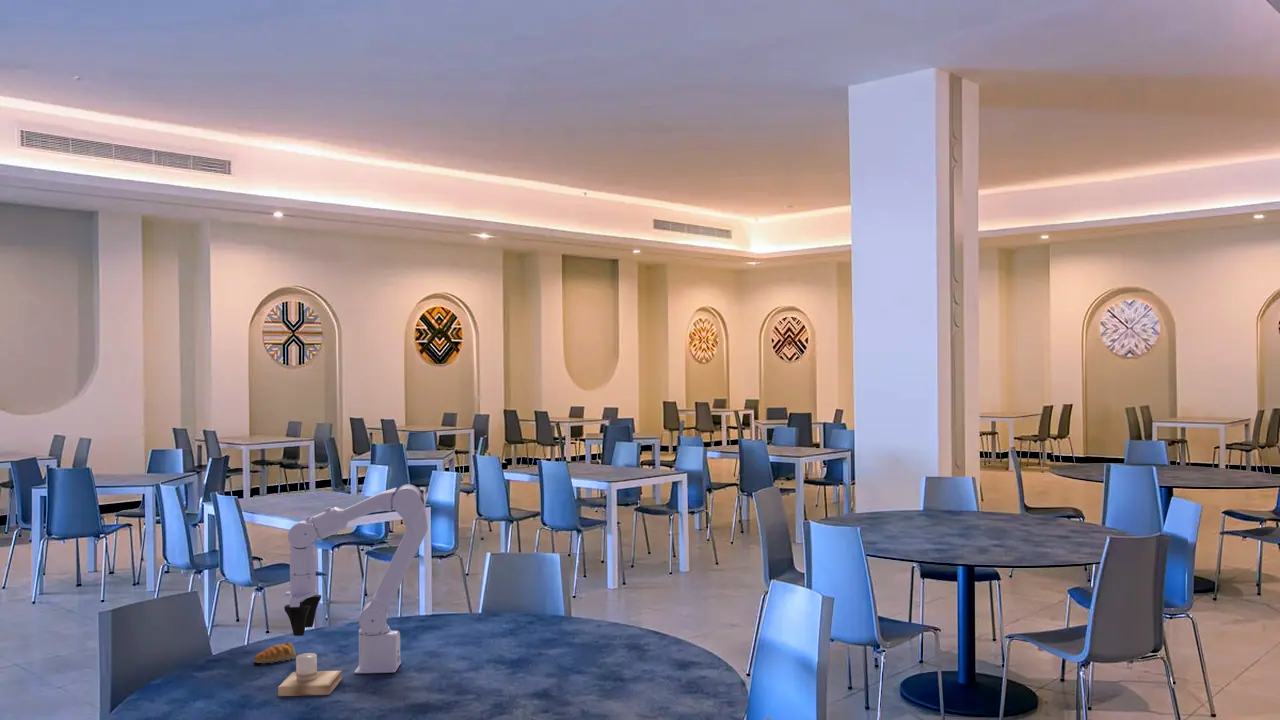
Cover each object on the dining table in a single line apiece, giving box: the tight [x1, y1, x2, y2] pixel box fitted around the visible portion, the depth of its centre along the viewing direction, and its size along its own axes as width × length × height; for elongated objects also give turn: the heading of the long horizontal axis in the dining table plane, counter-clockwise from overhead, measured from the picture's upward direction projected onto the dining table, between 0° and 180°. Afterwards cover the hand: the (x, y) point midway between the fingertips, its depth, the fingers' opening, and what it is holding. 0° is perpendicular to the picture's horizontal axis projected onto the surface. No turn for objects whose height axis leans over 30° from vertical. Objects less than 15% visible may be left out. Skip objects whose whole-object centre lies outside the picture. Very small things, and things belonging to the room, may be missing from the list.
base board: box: [277, 670, 343, 697], centre depth 226 cm, size 11×11×2 cm
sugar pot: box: [295, 652, 318, 681], centre depth 226 cm, size 4×4×5 cm
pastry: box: [253, 642, 297, 664], centre depth 249 cm, size 9×7×4 cm
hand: (303, 631), depth 237 cm, fingers open, 7 cm apart
